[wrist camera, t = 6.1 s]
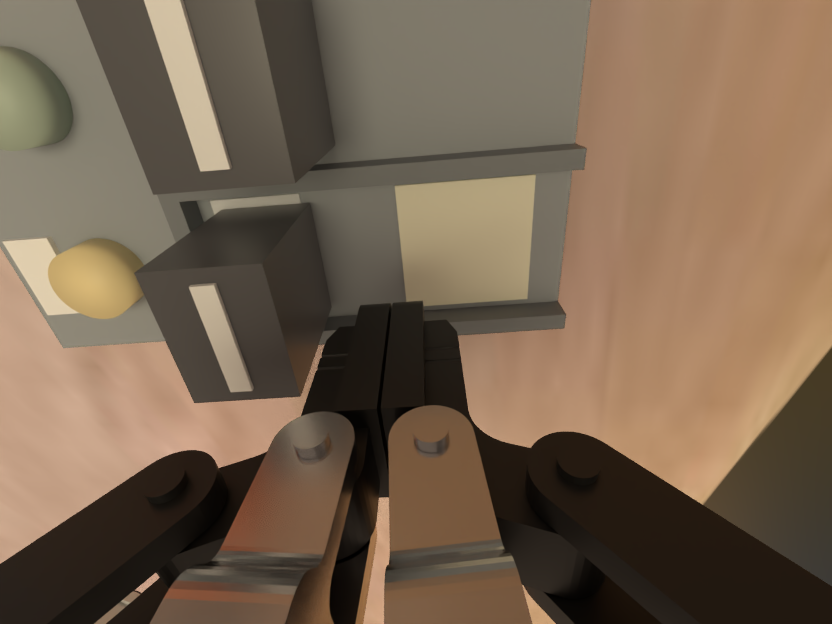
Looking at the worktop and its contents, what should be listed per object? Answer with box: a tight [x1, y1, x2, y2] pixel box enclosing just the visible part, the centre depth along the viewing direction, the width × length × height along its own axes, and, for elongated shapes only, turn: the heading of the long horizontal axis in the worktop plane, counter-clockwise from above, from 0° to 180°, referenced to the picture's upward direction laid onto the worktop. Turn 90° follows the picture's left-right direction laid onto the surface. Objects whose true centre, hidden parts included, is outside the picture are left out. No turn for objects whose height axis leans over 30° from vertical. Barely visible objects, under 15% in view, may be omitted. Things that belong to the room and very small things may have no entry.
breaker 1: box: [76, 0, 335, 195], centre depth 10 cm, size 3×4×5 cm
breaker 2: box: [134, 203, 332, 403], centre depth 13 cm, size 3×4×5 cm
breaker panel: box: [0, 0, 591, 348], centre depth 14 cm, size 20×12×4 cm, turn 94°
